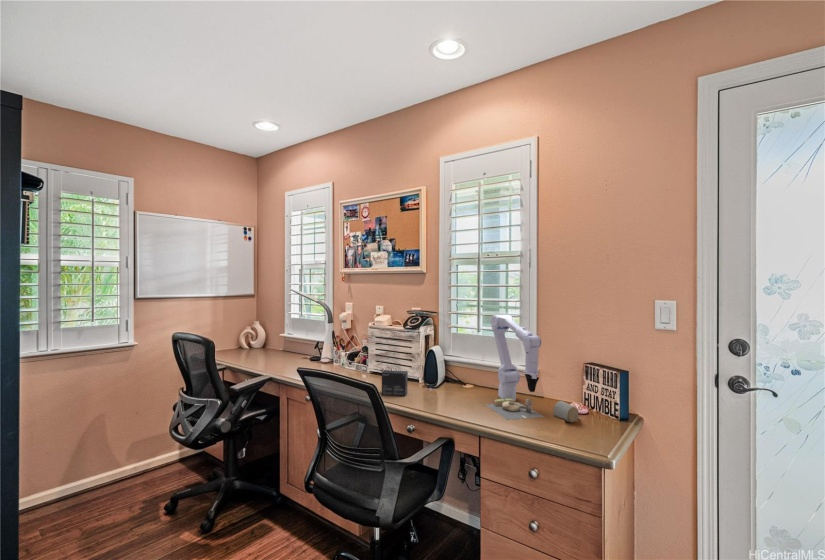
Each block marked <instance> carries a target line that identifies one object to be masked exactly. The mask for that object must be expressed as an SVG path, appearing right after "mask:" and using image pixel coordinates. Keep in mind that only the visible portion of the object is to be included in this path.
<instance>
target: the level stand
mask: <svg viewBox="0 0 825 560" xmlns="http://www.w3.org/2000/svg"><path fill="white" fill-rule="evenodd" d="M507 401H510V402H517V403H519V404H520V405H523V406H526V404H525V405H524V404H523V403H520V402H519V401H516V400H514V399H501V398H499V399H494V400H493V403H487V404H485V405H484V406H487V407H488V408H489V409H491V410H492V411H494V413H496V414H498V415H499V416H501V417H503V419H505V420H506V421H510V420H511V421H514V420H522V419H525V420H526V419H534V418H544V417H545V416H544V415H542V414H541V413H538V412H537V411H535V410H533V409H532V408H531V412H528V411H526V409H523V408H520V410H519V411H508V410H504V409H503V408H502V403H503V402H507Z"/></svg>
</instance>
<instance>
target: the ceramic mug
mask: <svg viewBox="0 0 825 560" xmlns="http://www.w3.org/2000/svg"><path fill="white" fill-rule="evenodd" d="M553 416H555V417H557V418H561V419H562V420H565V422H567V423H570V424H571V423H575V422H576V421H577V420H579V419H580V417H581V416H580V415H579V409H578V408H577V407H576V406H574V405H572V404H570V403H567V402H565V401H563V400H559V401H557V402H556V403H555V404H554V406H553Z"/></svg>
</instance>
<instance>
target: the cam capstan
mask: <svg viewBox="0 0 825 560" xmlns="http://www.w3.org/2000/svg"><path fill="white" fill-rule="evenodd" d="M517 402H518V401H515V402H510V401H507V402H503V403H502V408H503V409H504V410H508V411H519V410H520V408H523V409H526V411H528V412H531V409H532V398H526V399H525V406H523V405H524V404H523V405H520V404H519V403H520V402H519V403H517Z"/></svg>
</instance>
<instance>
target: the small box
mask: <svg viewBox="0 0 825 560" xmlns="http://www.w3.org/2000/svg"><path fill="white" fill-rule="evenodd" d="M408 373H409V372H408V371H407V370H390V369H389V370H388V369H387V370H385V369H384V370H383V371H381V396H388V397H389V396H391V397H394V396H395V397H406V396H407V394H408V377H409V376H408V375H409V374H408Z"/></svg>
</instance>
